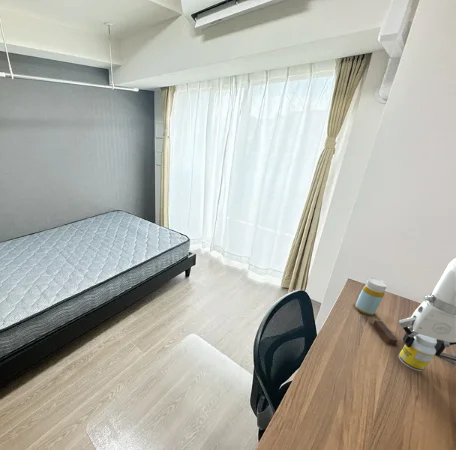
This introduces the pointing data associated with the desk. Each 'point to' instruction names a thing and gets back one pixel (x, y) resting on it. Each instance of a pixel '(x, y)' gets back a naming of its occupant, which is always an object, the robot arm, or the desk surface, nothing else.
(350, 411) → the desk surface
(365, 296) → the bottle
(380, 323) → the walnut bar
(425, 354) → the pill bottle
